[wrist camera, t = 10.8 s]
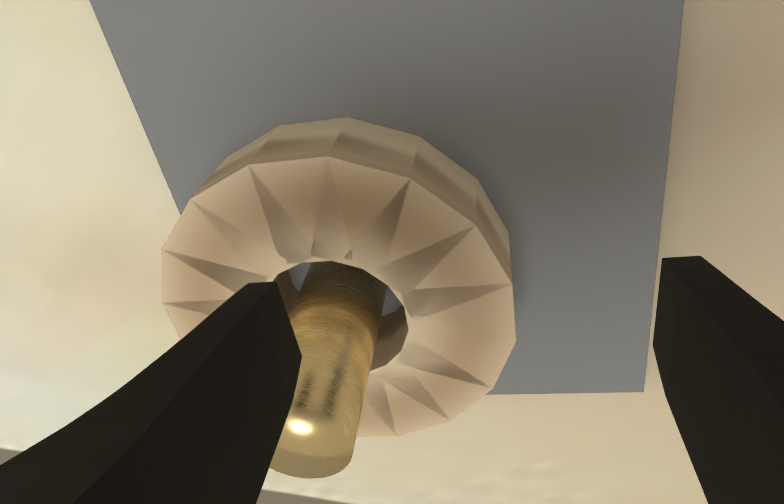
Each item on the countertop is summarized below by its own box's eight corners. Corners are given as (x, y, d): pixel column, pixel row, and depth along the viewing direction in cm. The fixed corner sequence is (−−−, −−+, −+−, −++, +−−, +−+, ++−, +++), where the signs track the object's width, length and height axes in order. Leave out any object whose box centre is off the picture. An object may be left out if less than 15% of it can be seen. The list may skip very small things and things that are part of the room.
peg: (382, 233, 21) (338, 404, 14) (396, 297, 22) (362, 478, 16) (303, 239, 21) (227, 406, 15) (322, 302, 23) (261, 478, 16)
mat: (742, -673, 10) (756, -701, 9) (640, 380, 24) (643, 391, 23) (-60, -389, 13) (-80, -398, 13) (262, 388, 27) (258, 398, 27)
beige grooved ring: (499, 99, 17) (502, 138, 15) (518, 377, 24) (522, 436, 21) (148, 140, 20) (101, 180, 17) (252, 383, 26) (228, 436, 24)
